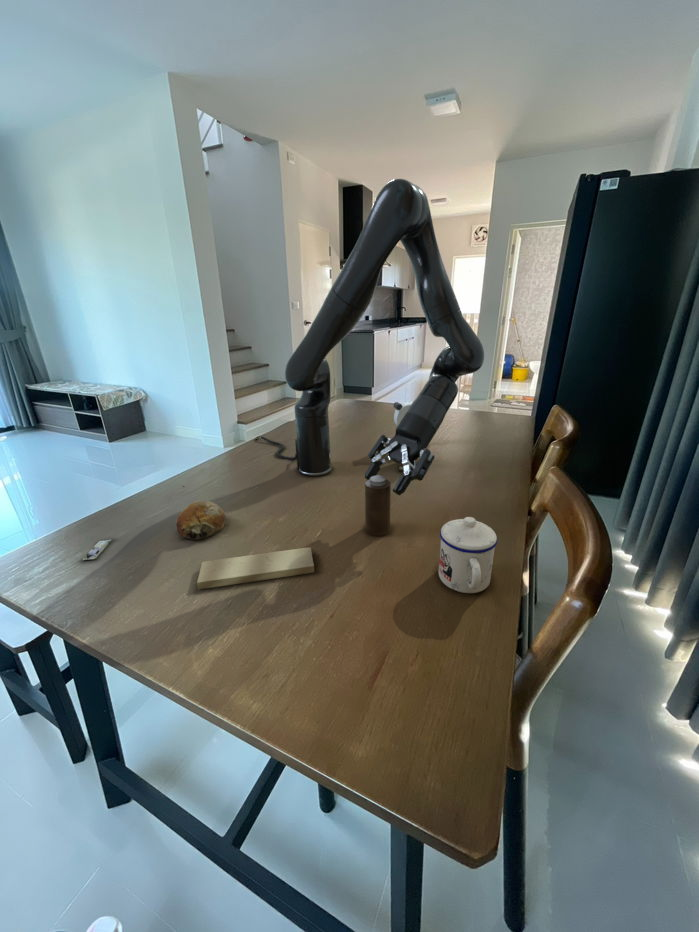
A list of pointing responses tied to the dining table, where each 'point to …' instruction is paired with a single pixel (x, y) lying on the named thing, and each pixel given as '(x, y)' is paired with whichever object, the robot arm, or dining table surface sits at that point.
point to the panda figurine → (400, 411)
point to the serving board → (255, 568)
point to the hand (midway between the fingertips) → (381, 486)
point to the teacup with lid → (466, 555)
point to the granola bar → (97, 549)
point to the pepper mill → (377, 505)
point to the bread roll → (200, 520)
